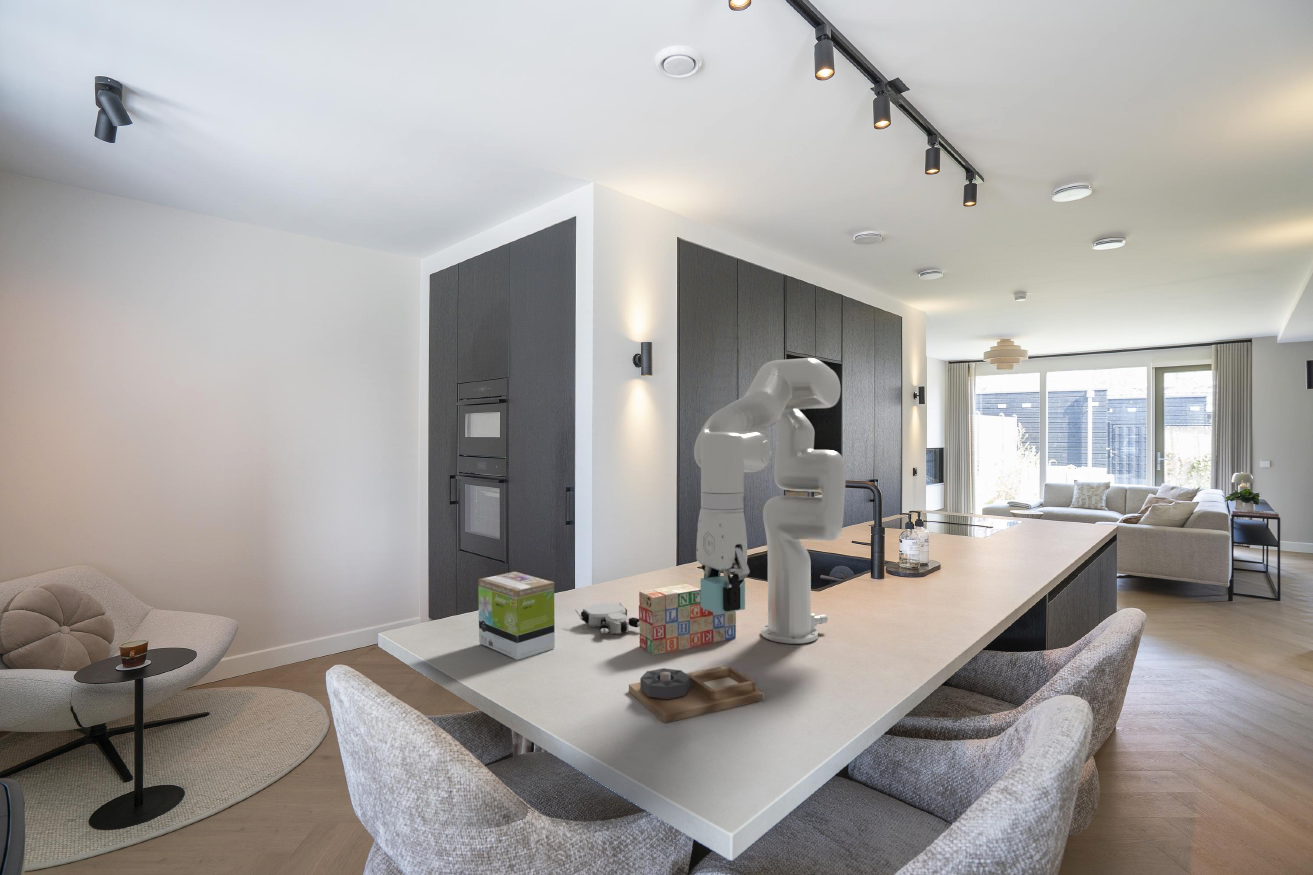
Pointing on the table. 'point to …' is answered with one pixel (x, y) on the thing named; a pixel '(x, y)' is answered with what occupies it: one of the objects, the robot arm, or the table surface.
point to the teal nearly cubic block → (717, 594)
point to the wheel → (665, 684)
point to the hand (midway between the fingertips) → (722, 604)
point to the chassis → (702, 694)
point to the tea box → (516, 614)
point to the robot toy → (608, 617)
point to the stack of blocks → (680, 620)
